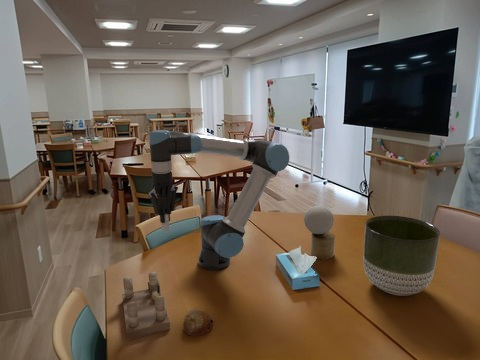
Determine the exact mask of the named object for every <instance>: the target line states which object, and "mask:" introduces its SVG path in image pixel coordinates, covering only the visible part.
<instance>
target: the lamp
mask: <svg viewBox="0 0 480 360" xmlns="http://www.w3.org/2000/svg"><path fill="white" fill-rule="evenodd" d="M334 221H335V219H334V215H333V213H332V211H331V210H330V209H329V208H327V207H326V206H323V205H314V206H312V207H310V208H308V209H307V211H306V212H305V214H304V218H303V222H304V226H305V227H306V230H307V231H309V232H311V242H310V243H311V245H310V246H311V247H310V255H311V254H312V255H311V256H312V257H313V256H316V257H317V258H318V260H323V259H327V260H330V259H329V258H331V259H333V258H334V257H335V246H336V245H335V244H336V243H335V242H336V234H334V233H333V232H330V231H331V230H332V228H333V226H334V224H335V223H334ZM333 256H334V257H333ZM332 257H333V258H332ZM317 258H316V259H317Z"/></svg>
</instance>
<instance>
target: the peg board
mask: <svg viewBox="0 0 480 360" xmlns="http://www.w3.org/2000/svg"><path fill="white" fill-rule="evenodd" d="M122 280H123V282H122V283H123V290H124V293H122V295H121V297H122V305H123V314H124V315H123V316H124V322H125V332H126V340H127V341H130V340H134V339H139V338H142V337H146V336H150V335H153V334H154V335H155V334H157V333H161V332H166V331H170V330H171V325H170V324H171V323H170V319H169V316H168V313H167V310H166V306H165V297H164V296H163V295H162V294H161V286H160V282H159V281H158V292H157V293H158V294H159V296H157V297H155V299H154V300H155V301H152V293H150V285H149V281H147V289H143V290H138V291H134V284H133V277H132V276H125V277H123V278H122Z"/></svg>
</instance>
